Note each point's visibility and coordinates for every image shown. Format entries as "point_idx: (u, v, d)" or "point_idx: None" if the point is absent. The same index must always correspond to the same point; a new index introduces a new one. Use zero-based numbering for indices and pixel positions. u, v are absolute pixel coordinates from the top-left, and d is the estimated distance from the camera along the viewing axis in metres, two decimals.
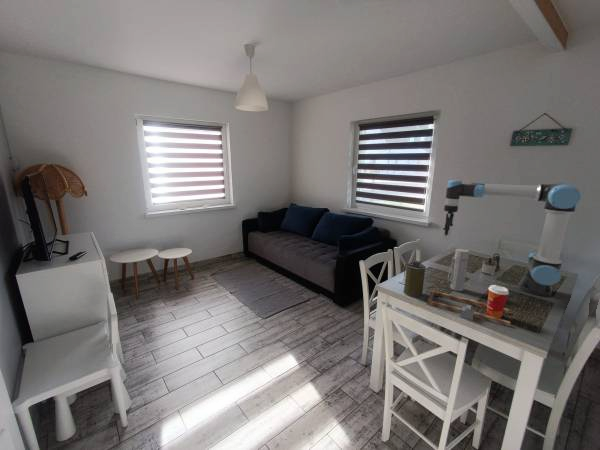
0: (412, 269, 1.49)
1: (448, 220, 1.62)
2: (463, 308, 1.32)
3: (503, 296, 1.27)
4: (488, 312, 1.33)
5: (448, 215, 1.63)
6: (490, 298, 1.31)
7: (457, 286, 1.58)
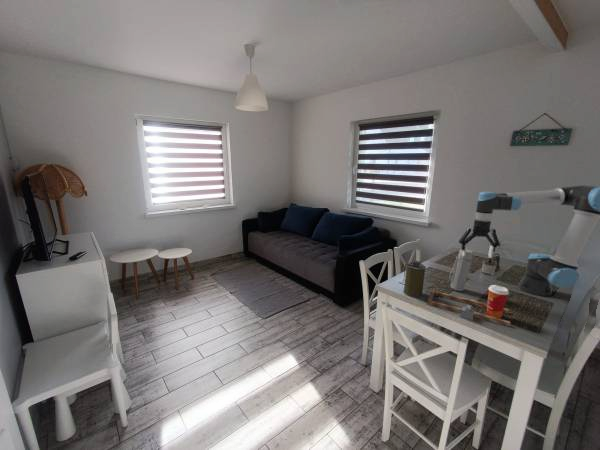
0: (412, 269, 1.49)
1: (465, 234, 1.49)
2: (463, 308, 1.32)
3: (503, 296, 1.27)
4: (488, 312, 1.33)
5: (467, 229, 1.49)
6: (490, 298, 1.31)
7: (457, 286, 1.58)
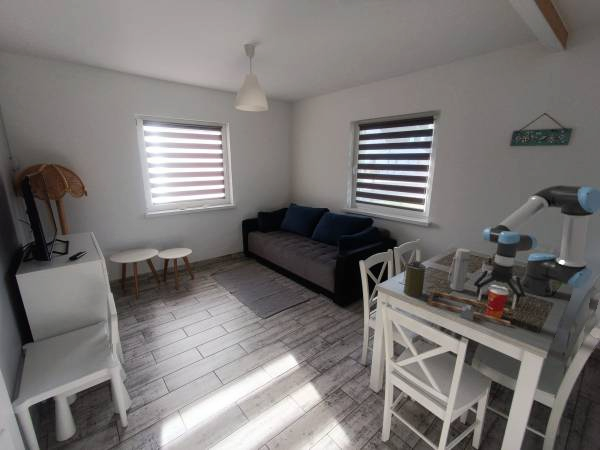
0: (412, 269, 1.49)
1: (481, 276, 1.33)
2: (463, 308, 1.32)
3: (503, 296, 1.27)
4: (488, 312, 1.33)
5: (484, 271, 1.32)
6: (490, 298, 1.31)
7: (457, 286, 1.58)
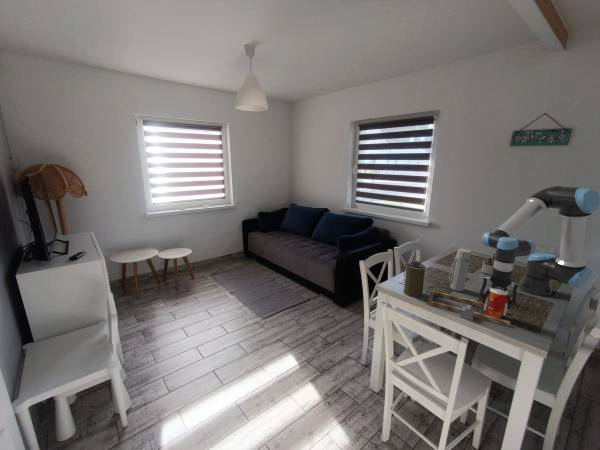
0: (412, 269, 1.49)
1: None
2: (463, 308, 1.32)
3: (503, 296, 1.27)
4: (488, 312, 1.33)
5: None
6: (490, 298, 1.31)
7: (457, 286, 1.58)
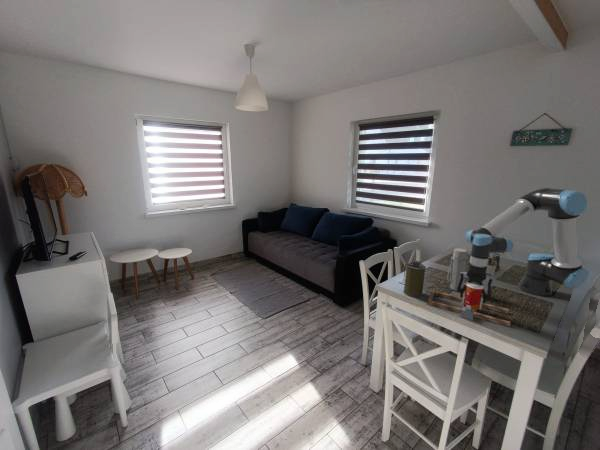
0: (412, 269, 1.49)
1: (460, 279, 1.39)
2: (463, 308, 1.32)
3: (479, 290, 1.32)
4: (465, 306, 1.38)
5: (461, 274, 1.39)
6: (467, 292, 1.36)
7: (456, 286, 1.58)
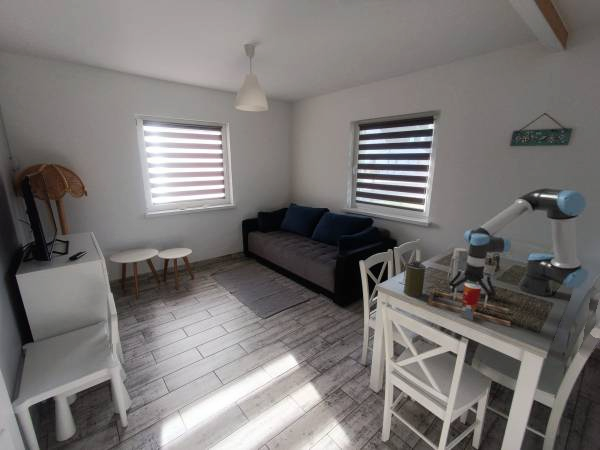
0: (412, 269, 1.49)
1: (455, 276, 1.40)
2: (463, 308, 1.32)
3: (477, 290, 1.33)
4: (463, 306, 1.39)
5: (458, 271, 1.39)
6: (465, 292, 1.37)
7: (457, 286, 1.58)
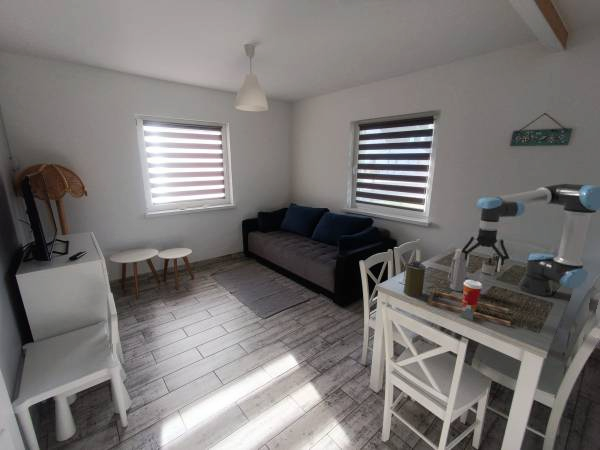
0: (412, 269, 1.49)
1: None
2: (463, 308, 1.32)
3: (477, 290, 1.33)
4: (463, 306, 1.39)
5: None
6: (465, 292, 1.37)
7: (457, 286, 1.58)
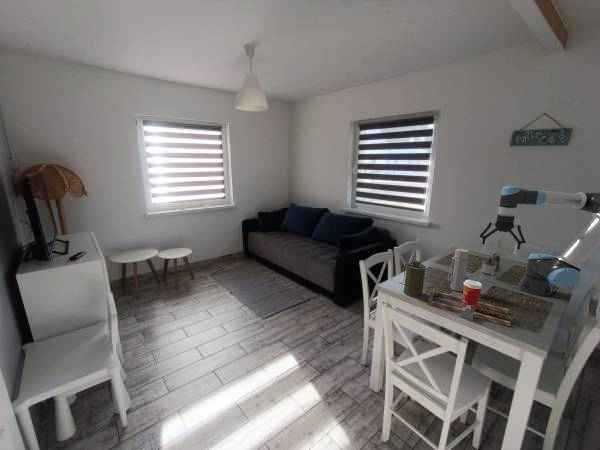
0: (412, 269, 1.49)
1: (486, 228, 1.49)
2: (463, 308, 1.32)
3: (477, 290, 1.33)
4: (463, 306, 1.39)
5: (489, 223, 1.48)
6: (465, 292, 1.37)
7: (457, 286, 1.58)
